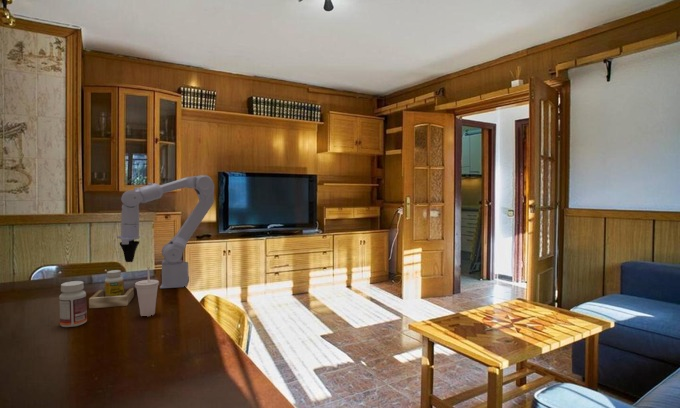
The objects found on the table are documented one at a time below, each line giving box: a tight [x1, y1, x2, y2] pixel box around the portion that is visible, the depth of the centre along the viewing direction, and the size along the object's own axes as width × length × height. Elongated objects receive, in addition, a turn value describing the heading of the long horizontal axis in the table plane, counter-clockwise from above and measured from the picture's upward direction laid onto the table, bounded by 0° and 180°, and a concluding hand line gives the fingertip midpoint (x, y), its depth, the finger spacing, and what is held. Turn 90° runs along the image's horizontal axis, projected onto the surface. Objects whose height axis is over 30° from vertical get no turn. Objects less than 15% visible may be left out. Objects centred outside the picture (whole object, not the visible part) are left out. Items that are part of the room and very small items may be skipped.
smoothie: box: [134, 266, 160, 317], centre depth 115 cm, size 6×6×14 cm
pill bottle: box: [58, 280, 88, 328], centre depth 107 cm, size 6×6×11 cm
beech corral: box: [88, 287, 135, 309], centre depth 127 cm, size 10×10×3 cm
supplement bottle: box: [104, 269, 125, 297], centre depth 129 cm, size 5×5×10 cm
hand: (129, 261), depth 141 cm, fingers closed
